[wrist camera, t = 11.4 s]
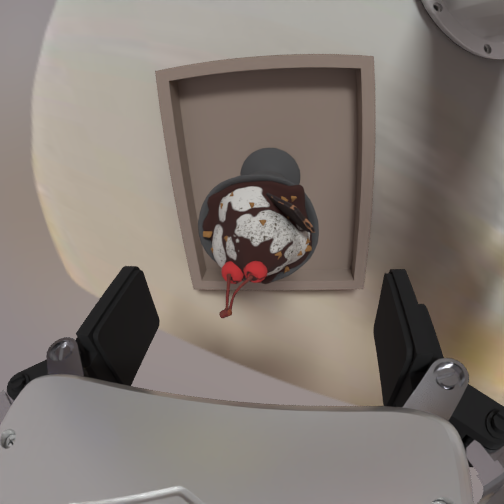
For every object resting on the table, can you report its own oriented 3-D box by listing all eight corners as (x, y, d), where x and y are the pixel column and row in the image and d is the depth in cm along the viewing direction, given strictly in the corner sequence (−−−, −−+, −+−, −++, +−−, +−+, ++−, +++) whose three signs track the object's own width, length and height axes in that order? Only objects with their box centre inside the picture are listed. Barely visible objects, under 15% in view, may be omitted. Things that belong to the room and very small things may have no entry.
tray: (167, 70, 23) (155, 71, 21) (366, 57, 21) (373, 56, 18) (200, 274, 33) (193, 289, 31) (359, 273, 31) (363, 289, 29)
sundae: (234, 214, 28) (186, 340, 16) (226, 139, 25) (154, 217, 12) (310, 213, 27) (321, 344, 15) (309, 136, 24) (328, 212, 11)
